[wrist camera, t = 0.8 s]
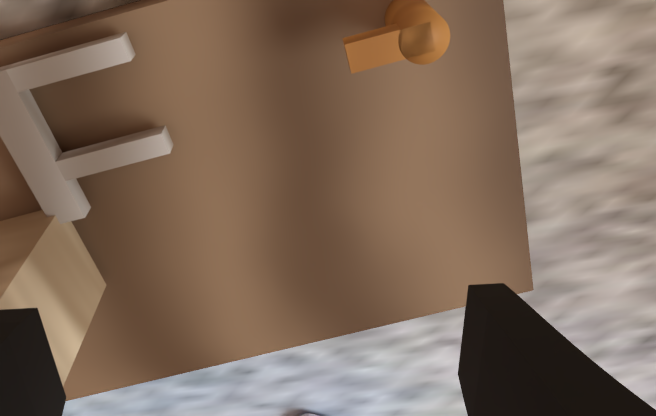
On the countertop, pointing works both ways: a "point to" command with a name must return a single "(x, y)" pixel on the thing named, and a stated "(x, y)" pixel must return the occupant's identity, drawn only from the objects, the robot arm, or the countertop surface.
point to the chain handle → (59, 196)
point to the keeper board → (283, 174)
